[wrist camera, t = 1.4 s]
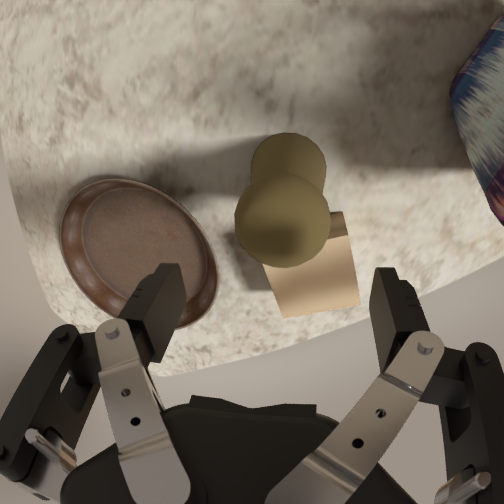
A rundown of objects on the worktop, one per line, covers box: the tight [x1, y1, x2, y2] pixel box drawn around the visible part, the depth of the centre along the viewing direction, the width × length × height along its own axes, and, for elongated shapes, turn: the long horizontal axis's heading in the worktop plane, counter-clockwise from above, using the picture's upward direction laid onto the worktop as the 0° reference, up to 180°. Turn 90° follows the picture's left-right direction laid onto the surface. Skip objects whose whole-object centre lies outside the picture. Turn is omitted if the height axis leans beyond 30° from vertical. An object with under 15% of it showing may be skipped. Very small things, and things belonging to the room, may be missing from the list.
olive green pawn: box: [234, 133, 331, 268], centre depth 20 cm, size 6×6×11 cm
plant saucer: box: [59, 179, 220, 330], centre depth 30 cm, size 18×18×3 cm
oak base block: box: [263, 212, 361, 318], centre depth 27 cm, size 7×7×4 cm
